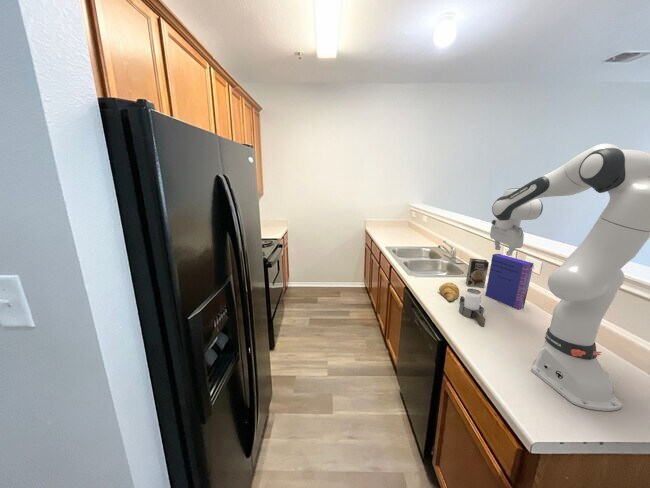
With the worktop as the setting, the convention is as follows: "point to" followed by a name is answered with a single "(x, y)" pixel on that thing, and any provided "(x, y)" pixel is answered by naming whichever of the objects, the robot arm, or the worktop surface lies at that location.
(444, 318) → the worktop surface
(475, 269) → the coffee box
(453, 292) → the croissant
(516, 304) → the cereal box
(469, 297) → the can
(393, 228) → the worktop surface
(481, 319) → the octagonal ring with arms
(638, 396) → the worktop surface
